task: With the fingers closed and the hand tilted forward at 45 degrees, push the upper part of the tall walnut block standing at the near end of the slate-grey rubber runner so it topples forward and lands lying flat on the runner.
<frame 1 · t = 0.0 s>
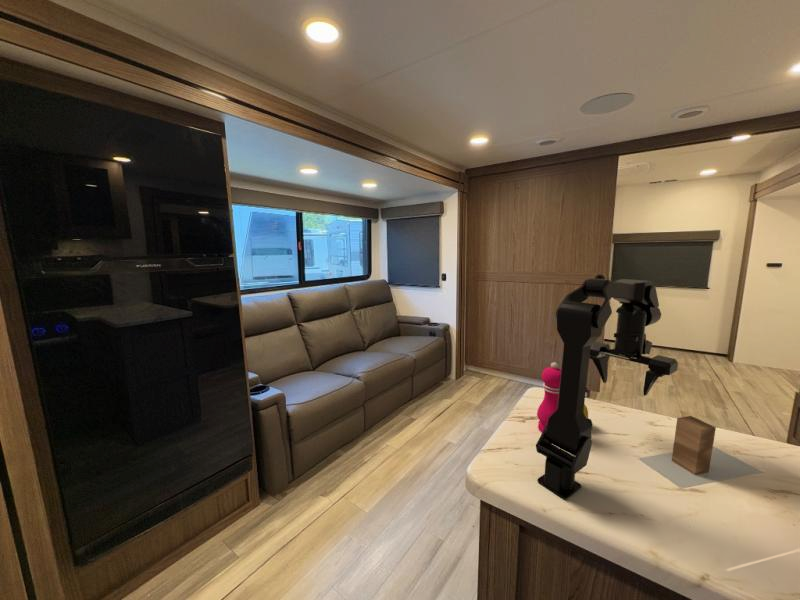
hand: (624, 388, 82), 15 cm above the counter, tool pointing down, fingers open, 9 cm apart
walnut block: (689, 466, 73), resting on rubber runner
rubber runner: (697, 465, 74), on the counter
pepper mill: (550, 431, 89), on the counter
lemon: (575, 426, 91), on the counter
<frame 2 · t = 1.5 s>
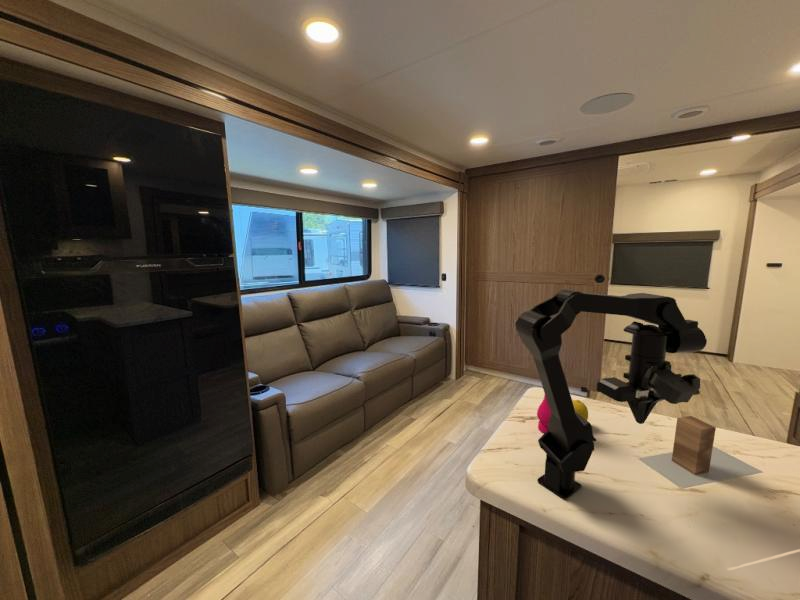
hand: (639, 422, 69), 13 cm above the counter, tool pointing down, fingers closed
nothing on the counter moved.
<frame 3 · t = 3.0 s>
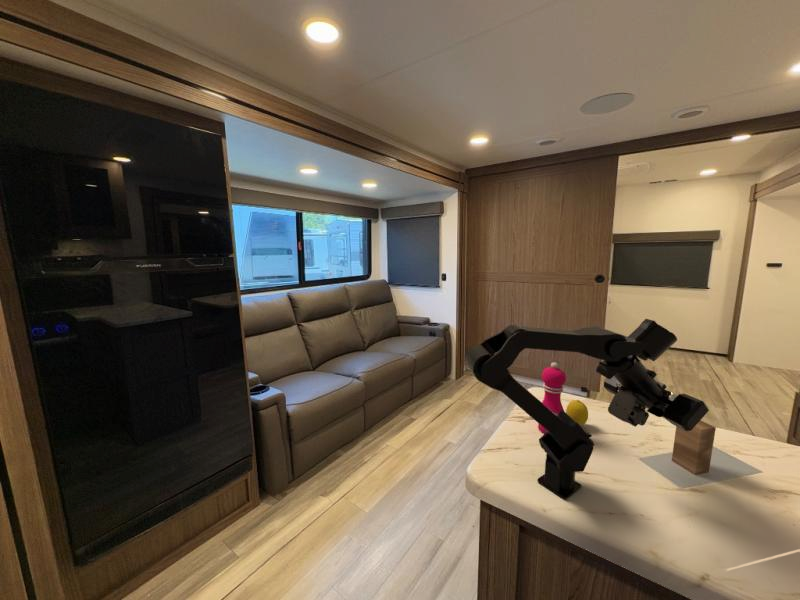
hand: (668, 417, 70), 13 cm above the counter, tool tilted 45°, fingers closed
nothing on the counter moved.
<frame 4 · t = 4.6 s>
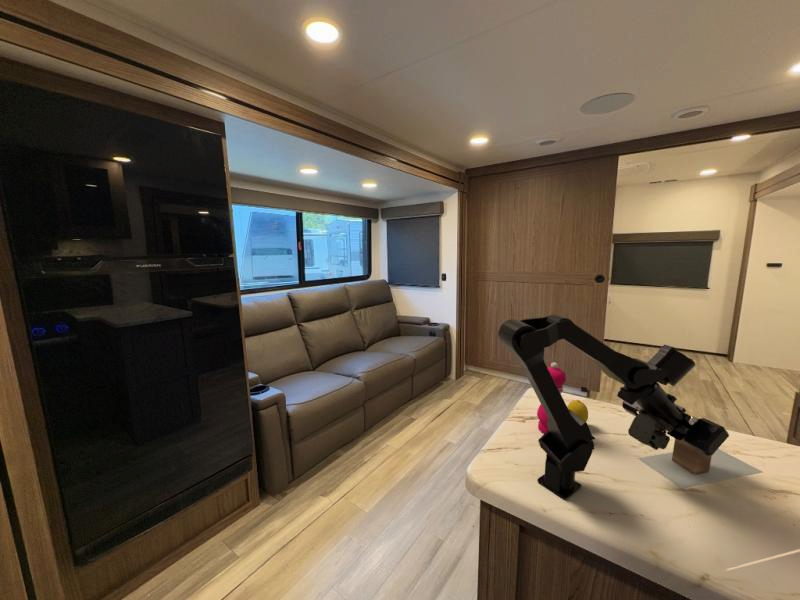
hand: (686, 438, 72), 8 cm above the counter, tool tilted 45°, fingers closed, pressing on walnut block
walnut block: (689, 466, 73), resting on rubber runner, touching gripper
everything else where it was.
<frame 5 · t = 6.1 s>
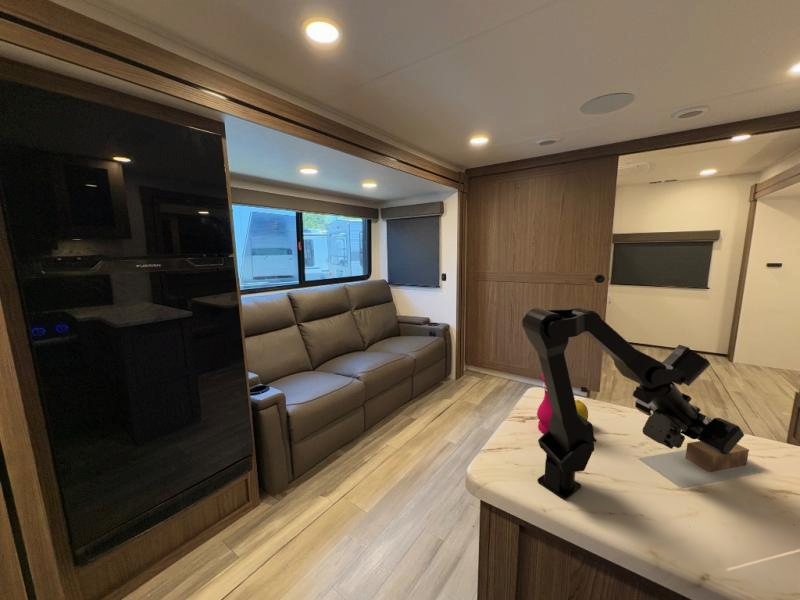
hand: (699, 438, 73), 7 cm above the counter, tool tilted 45°, fingers closed
walnut block: (697, 457, 74), point 2 cm above the counter, tilted 90°, touching rubber runner
everything else where it was.
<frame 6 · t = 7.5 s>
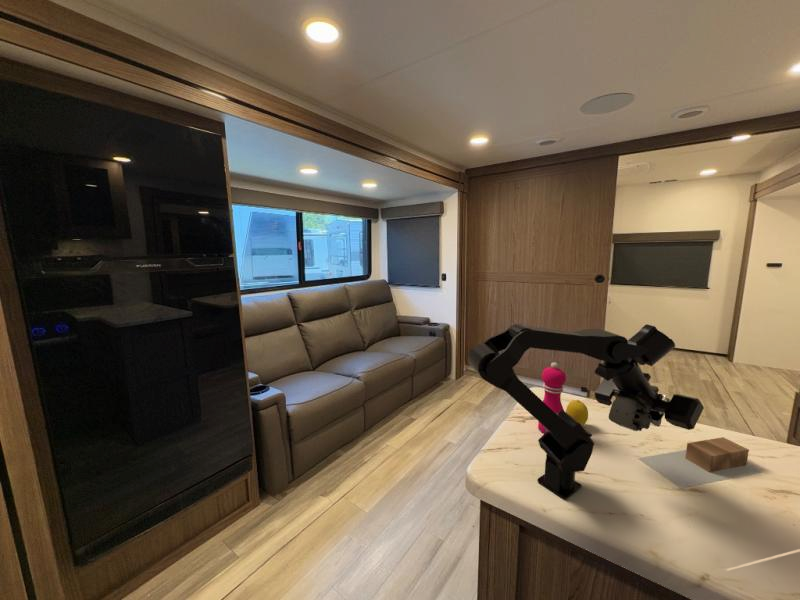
hand: (658, 424, 71), 11 cm above the counter, tool tilted 40°, fingers closed
nothing on the counter moved.
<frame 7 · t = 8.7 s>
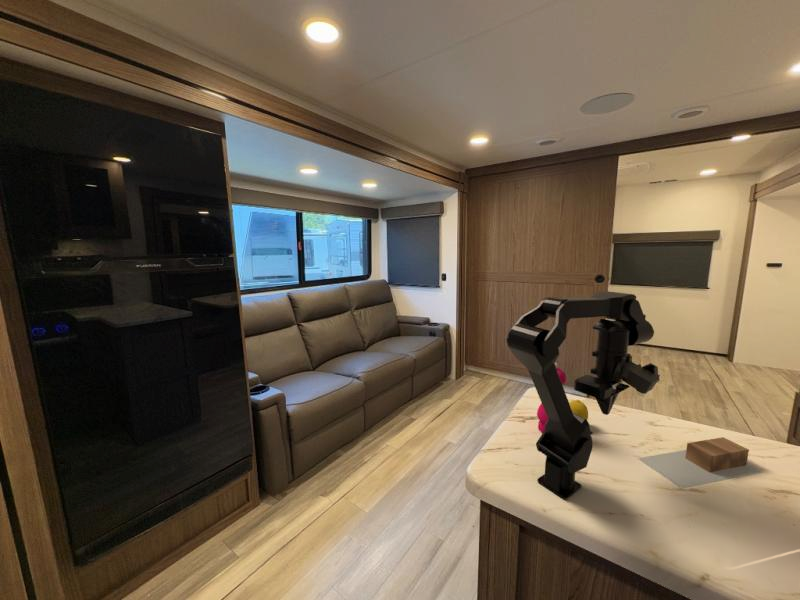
hand: (605, 413, 73), 13 cm above the counter, tool pointing down, fingers closed
nothing on the counter moved.
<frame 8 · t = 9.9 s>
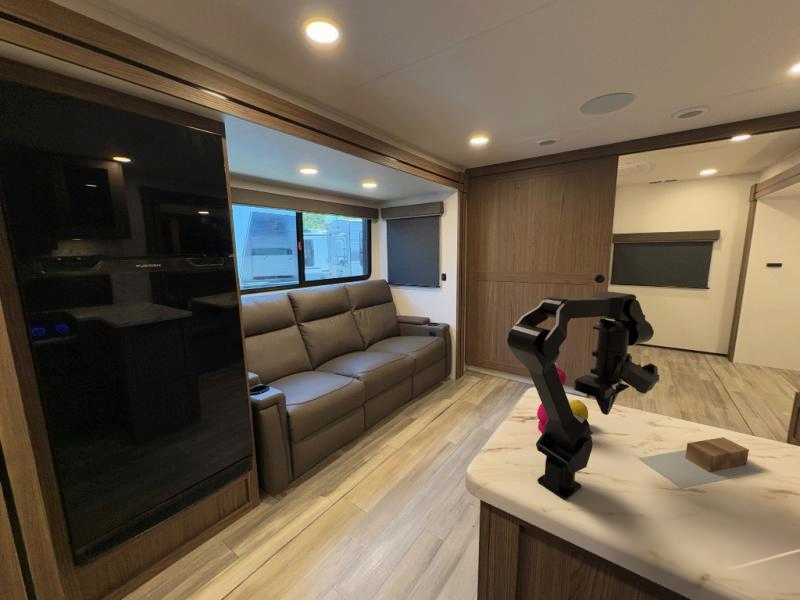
hand: (605, 413, 73), 13 cm above the counter, tool pointing down, fingers closed
nothing on the counter moved.
at the end: walnut block tilted 90°; walnut block inside the target area on the rubber runner (2.9 cm from its centre), point 2.3 cm above the rubber runner's base; the gripper is holding nothing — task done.
